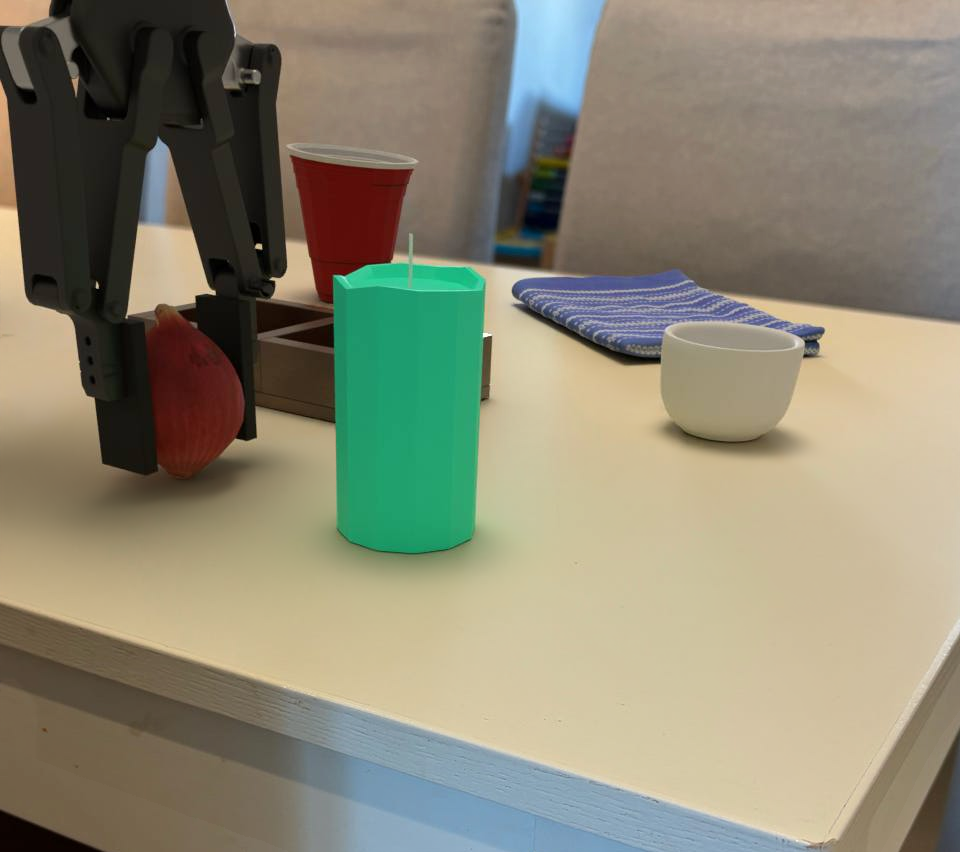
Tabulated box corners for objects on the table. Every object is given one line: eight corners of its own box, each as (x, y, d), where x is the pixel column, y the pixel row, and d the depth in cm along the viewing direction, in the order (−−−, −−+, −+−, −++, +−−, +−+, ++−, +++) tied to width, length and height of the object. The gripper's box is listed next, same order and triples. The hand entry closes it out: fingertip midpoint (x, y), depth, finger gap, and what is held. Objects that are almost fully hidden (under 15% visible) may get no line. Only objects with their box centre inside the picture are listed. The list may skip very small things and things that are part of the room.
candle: (420, 494, 52) (426, 221, 46) (504, 534, 47) (521, 240, 42) (310, 519, 48) (302, 227, 43) (390, 564, 44) (392, 248, 39)
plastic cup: (386, 316, 89) (387, 154, 84) (267, 302, 92) (260, 145, 87) (434, 295, 98) (438, 149, 93) (324, 284, 101) (322, 141, 96)
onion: (236, 455, 56) (226, 291, 52) (258, 492, 51) (249, 314, 47) (115, 463, 54) (96, 293, 50) (127, 503, 49) (107, 318, 45)
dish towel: (677, 299, 102) (681, 267, 101) (828, 356, 82) (835, 318, 81) (504, 302, 97) (506, 269, 96) (621, 364, 77) (625, 323, 76)
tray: (133, 377, 68) (126, 315, 67) (246, 349, 76) (243, 293, 75) (393, 435, 60) (393, 365, 58) (489, 397, 68) (492, 334, 66)
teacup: (818, 444, 62) (836, 347, 59) (703, 456, 59) (717, 354, 56) (714, 399, 70) (726, 312, 67) (609, 408, 67) (618, 317, 64)
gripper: (-18, -217, 32) (79, 526, 43) (364, -114, 47) (366, 421, 57) (-171, -199, 35) (-47, 486, 46) (230, -108, 50) (255, 396, 61)
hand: (182, 449), depth 52 cm, fingers closed on onion, 6 cm apart
